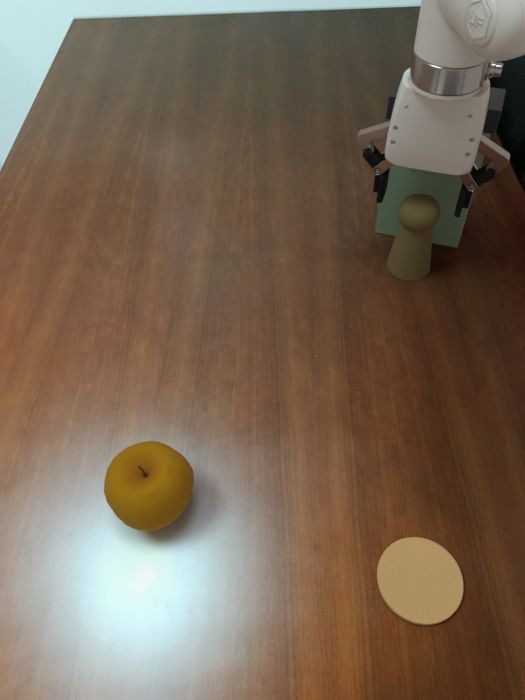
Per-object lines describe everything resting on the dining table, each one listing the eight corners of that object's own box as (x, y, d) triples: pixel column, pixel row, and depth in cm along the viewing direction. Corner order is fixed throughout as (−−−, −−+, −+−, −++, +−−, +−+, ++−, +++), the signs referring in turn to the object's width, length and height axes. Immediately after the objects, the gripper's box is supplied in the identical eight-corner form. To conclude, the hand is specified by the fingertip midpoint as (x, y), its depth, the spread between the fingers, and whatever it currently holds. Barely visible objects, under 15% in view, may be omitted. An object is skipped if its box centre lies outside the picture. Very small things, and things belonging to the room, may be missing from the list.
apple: (203, 468, 64) (192, 427, 57) (195, 546, 58) (181, 511, 51) (126, 467, 64) (106, 426, 57) (111, 544, 59) (86, 509, 52)
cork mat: (467, 553, 57) (469, 551, 56) (455, 638, 52) (457, 637, 52) (386, 528, 59) (386, 526, 58) (367, 608, 54) (368, 606, 54)
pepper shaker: (435, 257, 82) (451, 192, 73) (423, 285, 79) (439, 221, 70) (393, 246, 84) (404, 182, 75) (380, 274, 81) (390, 210, 72)
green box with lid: (465, 226, 86) (506, 88, 69) (460, 251, 83) (501, 112, 66) (378, 211, 89) (397, 75, 72) (370, 234, 86) (387, 98, 69)
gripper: (539, 61, 60) (493, 197, 73) (373, 42, 64) (358, 174, 77) (534, 99, 55) (486, 236, 69) (356, 75, 60) (344, 209, 73)
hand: (419, 203), depth 73 cm, fingers open, 9 cm apart
